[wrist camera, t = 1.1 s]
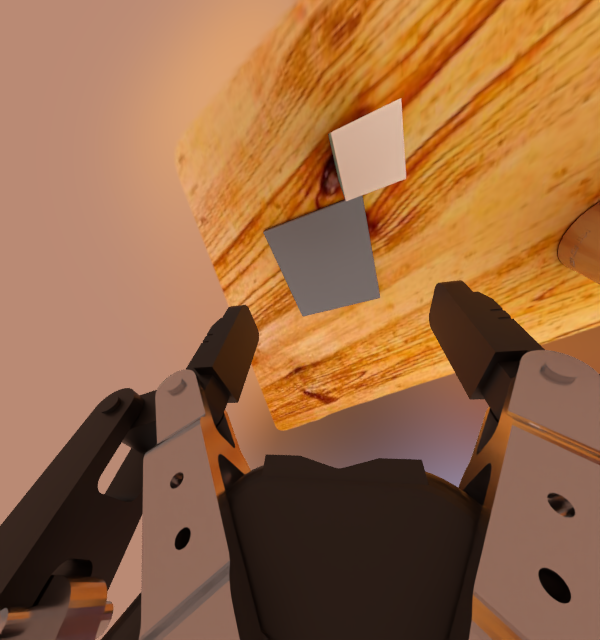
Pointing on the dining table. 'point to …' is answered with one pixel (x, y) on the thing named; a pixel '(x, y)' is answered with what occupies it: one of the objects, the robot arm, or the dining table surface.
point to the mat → (327, 257)
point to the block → (370, 151)
